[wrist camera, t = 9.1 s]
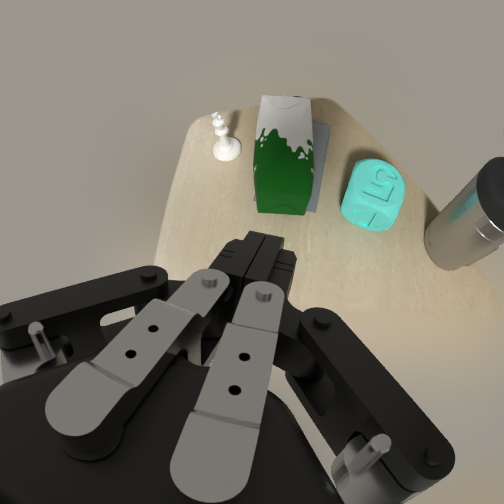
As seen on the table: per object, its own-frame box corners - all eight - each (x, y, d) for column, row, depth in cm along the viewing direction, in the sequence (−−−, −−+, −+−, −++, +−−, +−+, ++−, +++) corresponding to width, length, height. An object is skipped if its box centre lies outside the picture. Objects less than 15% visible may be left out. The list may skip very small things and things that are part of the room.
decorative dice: (336, 218, 48) (344, 195, 40) (350, 177, 49) (359, 150, 42) (383, 237, 46) (399, 217, 38) (394, 194, 48) (409, 170, 40)
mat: (330, 125, 53) (330, 125, 53) (315, 212, 48) (315, 212, 48) (276, 117, 55) (276, 116, 54) (253, 200, 50) (253, 200, 50)
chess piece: (230, 165, 52) (219, 129, 43) (208, 154, 54) (193, 119, 44) (246, 145, 53) (238, 107, 44) (224, 135, 55) (212, 98, 45)
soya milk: (319, 192, 40) (313, 87, 46) (250, 188, 40) (258, 83, 46) (309, 218, 48) (306, 120, 54) (250, 214, 49) (258, 117, 54)
